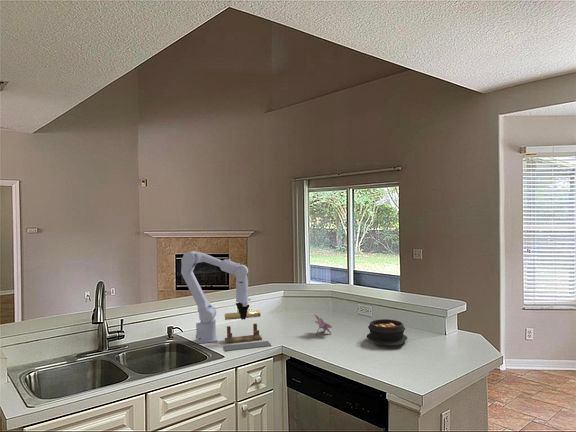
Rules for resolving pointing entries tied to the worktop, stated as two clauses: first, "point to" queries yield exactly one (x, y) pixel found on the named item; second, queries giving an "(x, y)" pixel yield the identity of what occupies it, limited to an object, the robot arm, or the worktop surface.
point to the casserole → (387, 332)
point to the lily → (322, 324)
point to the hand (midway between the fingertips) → (242, 318)
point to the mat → (247, 346)
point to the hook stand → (242, 338)
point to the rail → (237, 316)
